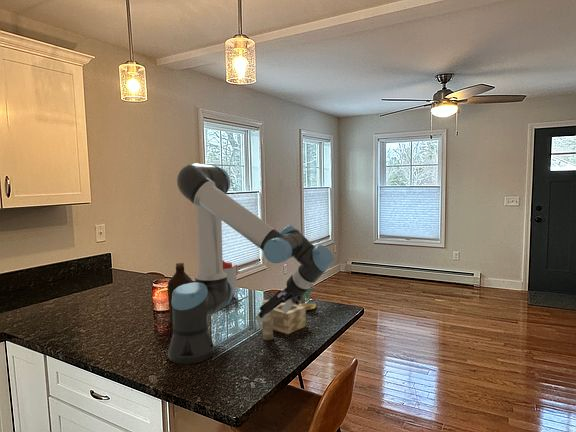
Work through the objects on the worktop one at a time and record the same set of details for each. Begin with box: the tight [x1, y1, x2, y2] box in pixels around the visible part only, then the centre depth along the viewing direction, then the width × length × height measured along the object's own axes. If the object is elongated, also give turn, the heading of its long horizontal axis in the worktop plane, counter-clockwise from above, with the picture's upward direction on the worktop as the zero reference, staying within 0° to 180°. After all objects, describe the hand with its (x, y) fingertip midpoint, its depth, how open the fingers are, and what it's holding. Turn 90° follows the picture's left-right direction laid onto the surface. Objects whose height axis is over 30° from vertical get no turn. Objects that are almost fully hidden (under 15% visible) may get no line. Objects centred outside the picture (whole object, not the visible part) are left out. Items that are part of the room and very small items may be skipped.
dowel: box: [261, 299, 274, 341], centre depth 145 cm, size 4×4×14 cm
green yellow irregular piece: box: [297, 287, 317, 311], centre depth 179 cm, size 10×18×15 cm, turn 138°
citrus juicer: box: [223, 260, 240, 300], centre depth 197 cm, size 16×17×20 cm
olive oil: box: [166, 262, 194, 326], centre depth 162 cm, size 11×11×25 cm
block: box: [273, 302, 307, 335], centre depth 156 cm, size 11×11×8 cm
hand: (270, 315), depth 144 cm, fingers open, 13 cm apart
